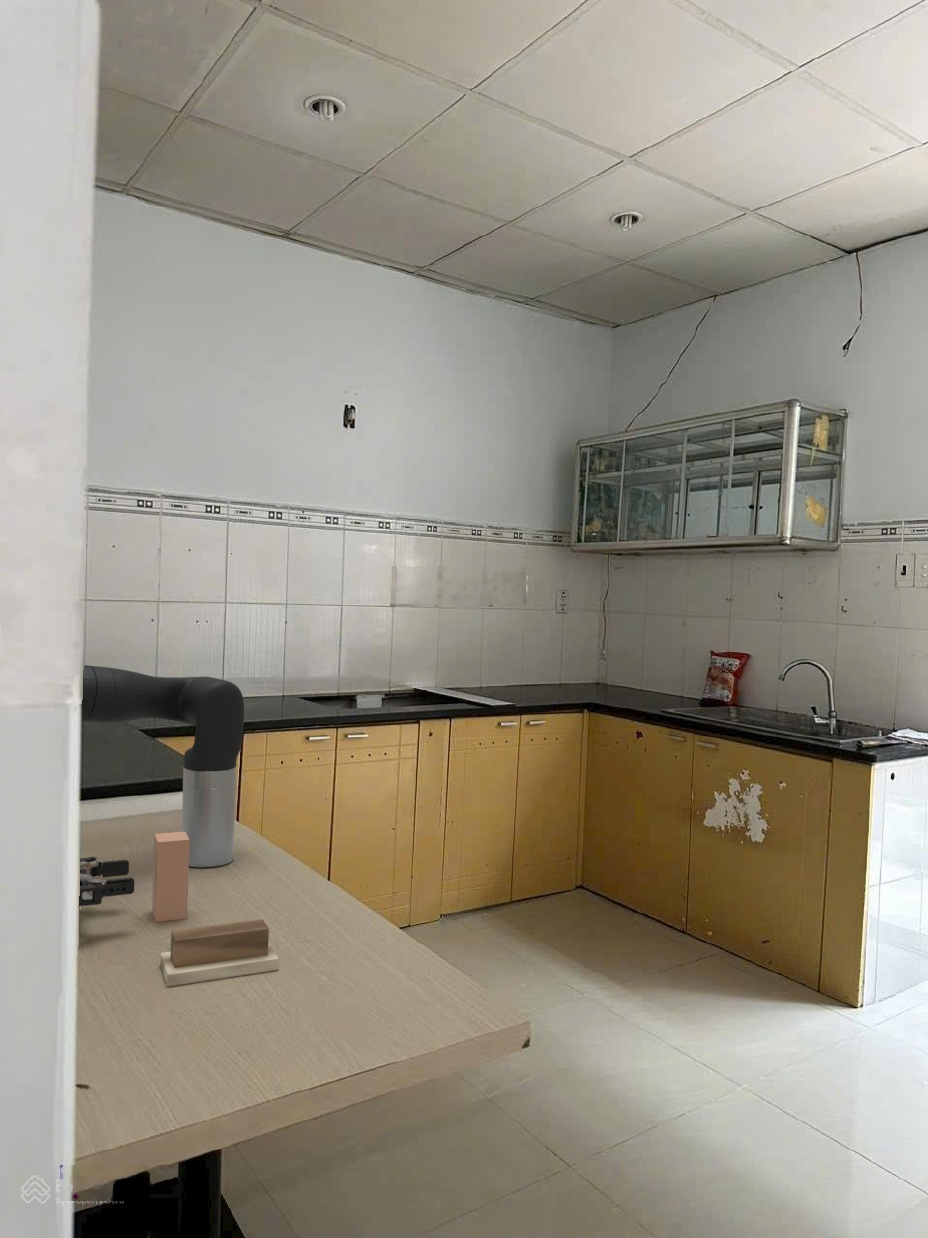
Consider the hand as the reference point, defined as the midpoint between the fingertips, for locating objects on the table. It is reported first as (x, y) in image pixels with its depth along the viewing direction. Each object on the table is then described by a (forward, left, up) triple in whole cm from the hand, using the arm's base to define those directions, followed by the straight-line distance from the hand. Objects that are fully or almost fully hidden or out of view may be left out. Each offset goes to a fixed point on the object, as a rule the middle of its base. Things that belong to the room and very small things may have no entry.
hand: (131, 875), depth 131 cm
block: (+1, +6, -7) cm, 9 cm away
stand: (+22, +6, -7) cm, 24 cm away
